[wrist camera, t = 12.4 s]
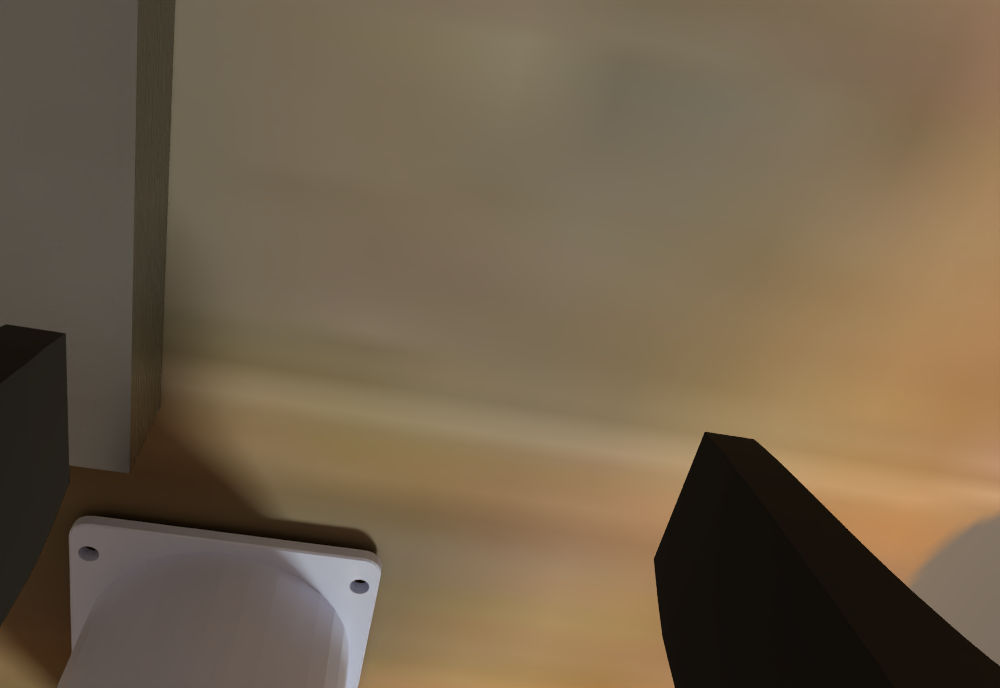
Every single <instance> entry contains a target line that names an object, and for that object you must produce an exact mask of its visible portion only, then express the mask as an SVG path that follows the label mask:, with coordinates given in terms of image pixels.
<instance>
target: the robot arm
mask: <svg viewBox="0 0 1000 688" xmlns="http://www.w3.org/2000/svg"><path fill="white" fill-rule="evenodd" d="M69 482H70V476H69V436H68V397H67V357H66V333H61V332H54V331H48V330H41V329H35V328H28V327H22V326H15V325H9V324H5V325H3V326H1V327H0V626H1V624H2V623H3V621H4V619H5V617H6V616H7V614H8V612H9V610H10V609H11V607H12V605H13V603H14V602H15V600H16V598H17V596H18V595H19V593H20V591H21V589H22V588H23V586H24V584H25V582H26V581H27V579H28V577H29V575H30V573H31V572H32V570H33V568H34V566H35V564H36V563H37V560H38V558H39V556H40V553H41V551H42V549H43V546H44V544H45V542H46V539H47V537H48V535H49V532H50V530H51V527H52V525H53V523H54V520H55V517H56V515H57V512H58V510H59V507H60V505H61V502H62V500H63V497H64V495H65V492H66V489H67V487H68V484H69ZM85 546H89V547H93V548H95V549H96V550H97V551H93V550H90V549H88V548H87V547H85ZM654 565H655V575H656V586H657V596H658V605H659V613H660V620H661V628H662V636H663V640H664V645H665V649H666V653H667V657H668V661H669V665H670V669H671V673H672V677H673V681H674V685H675V688H1000V666H999V665H998V664H996V663H995V662H994V661H992V660H991V659H990V658H989V657H988V656H986V655H985V654H984V653H983V652H982V651H980V650H979V649H978V648H977V647H975V646H974V645H973V644H972V643H971V642H969V641H968V640H967V639H966V638H965V637H963V636H962V635H961V634H960V633H959V632H958V631H957V630H955V629H954V628H953V627H952V626H951V625H950V624H948V623H947V622H946V621H945V620H944V619H943V618H942V617H941V616H940V615H938V614H937V613H936V612H935V611H934V610H933V609H932V608H931V607H929V606H928V605H927V604H926V603H925V602H924V601H923V600H922V599H920V598H919V597H918V596H917V595H916V594H915V593H914V592H913V591H911V590H910V589H909V588H908V587H907V586H906V585H905V584H904V583H903V582H902V581H901V580H900V579H899V578H898V577H896V576H895V575H894V574H893V573H892V572H891V571H890V570H889V569H888V568H887V567H886V566H885V565H884V564H883V563H882V562H881V561H880V560H878V559H877V558H876V557H875V556H874V555H873V554H872V553H871V552H870V551H869V550H868V549H867V548H866V547H865V546H864V545H863V544H862V543H861V542H860V541H859V540H858V539H857V538H856V537H855V536H854V535H853V534H852V533H851V532H850V531H849V530H848V529H847V528H846V527H845V526H844V525H843V524H842V523H841V522H840V521H839V520H838V519H837V518H836V517H835V516H834V515H833V514H832V513H831V512H830V511H829V510H828V509H827V508H825V507H824V506H823V505H822V504H821V503H820V502H819V501H818V500H817V499H816V498H815V497H814V496H813V495H812V494H811V493H810V492H809V491H808V490H807V489H806V488H805V487H804V486H803V485H802V484H801V483H800V482H799V481H798V480H797V479H796V478H795V477H794V476H793V475H792V474H791V473H790V472H789V471H788V470H787V469H786V468H785V467H784V466H783V465H782V464H781V463H780V462H779V461H778V460H777V459H776V458H775V457H774V456H772V455H771V454H770V453H769V452H768V451H767V450H766V449H765V448H764V447H762V446H761V445H760V444H759V443H758V442H756V441H755V440H754V439H748V438H742V437H736V436H729V435H723V434H716V433H710V432H705V433H704V436H703V438H702V441H701V443H700V445H699V448H698V450H697V453H696V455H695V458H694V460H693V463H692V465H691V468H690V470H689V473H688V475H687V478H686V480H685V483H684V485H683V488H682V490H681V493H680V495H679V498H678V500H677V503H676V505H675V508H674V510H673V513H672V515H671V518H670V520H669V523H668V525H667V528H666V530H665V533H664V535H663V537H662V540H661V542H660V545H659V547H658V550H657V552H656V555H655V557H654ZM69 566H70V607H71V648H72V653H71V656H70V658H69V660H68V663H67V665H66V667H65V669H64V672H63V674H62V676H61V679H60V681H59V683H58V685H57V688H358V684H359V679H360V674H361V669H362V664H363V659H364V655H365V650H366V645H367V640H368V635H369V630H370V625H371V620H372V615H373V610H374V605H375V601H376V596H377V591H378V586H379V581H380V576H381V567H382V566H381V560H380V558H379V557H378V556H377V555H376V554H374V553H373V552H370V551H366V550H359V549H351V548H343V547H335V546H327V545H319V544H311V543H304V542H296V541H288V540H280V539H272V538H264V537H256V536H249V535H241V534H233V533H225V532H217V531H209V530H201V529H193V528H186V527H178V526H170V525H162V524H154V523H146V522H138V521H131V520H123V519H115V518H107V517H99V516H83V517H81V518H78V519H77V520H76V521H75V522H74V524H73V526H72V528H71V530H70V533H69ZM355 580H363V581H366V582H365V583H357V582H355Z"/></svg>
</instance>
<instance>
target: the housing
mask: <svg viewBox="0 0 1000 688" xmlns="http://www.w3.org/2000/svg"><path fill="white" fill-rule="evenodd" d="M174 18H175V0H0V327H1V326H3V325H5V324H9V325H15V326H22V327H28V328H35V329H41V330H48V331H54V332H61V333H66V357H67V397H68V436H69V465H70V466H77V467H85V468H92V469H100V470H107V471H115V472H122V473H130V471H131V469H132V467H133V465H134V463H135V460H136V458H137V456H138V454H139V452H140V450H141V448H142V445H143V443H144V441H145V439H146V437H147V435H148V433H149V431H150V428H151V426H152V424H153V422H154V420H155V418H156V416H157V413H158V411H159V409H160V394H161V367H162V340H163V313H164V286H165V260H166V233H167V206H168V179H169V152H170V125H171V99H172V72H173V45H174Z"/></svg>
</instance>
